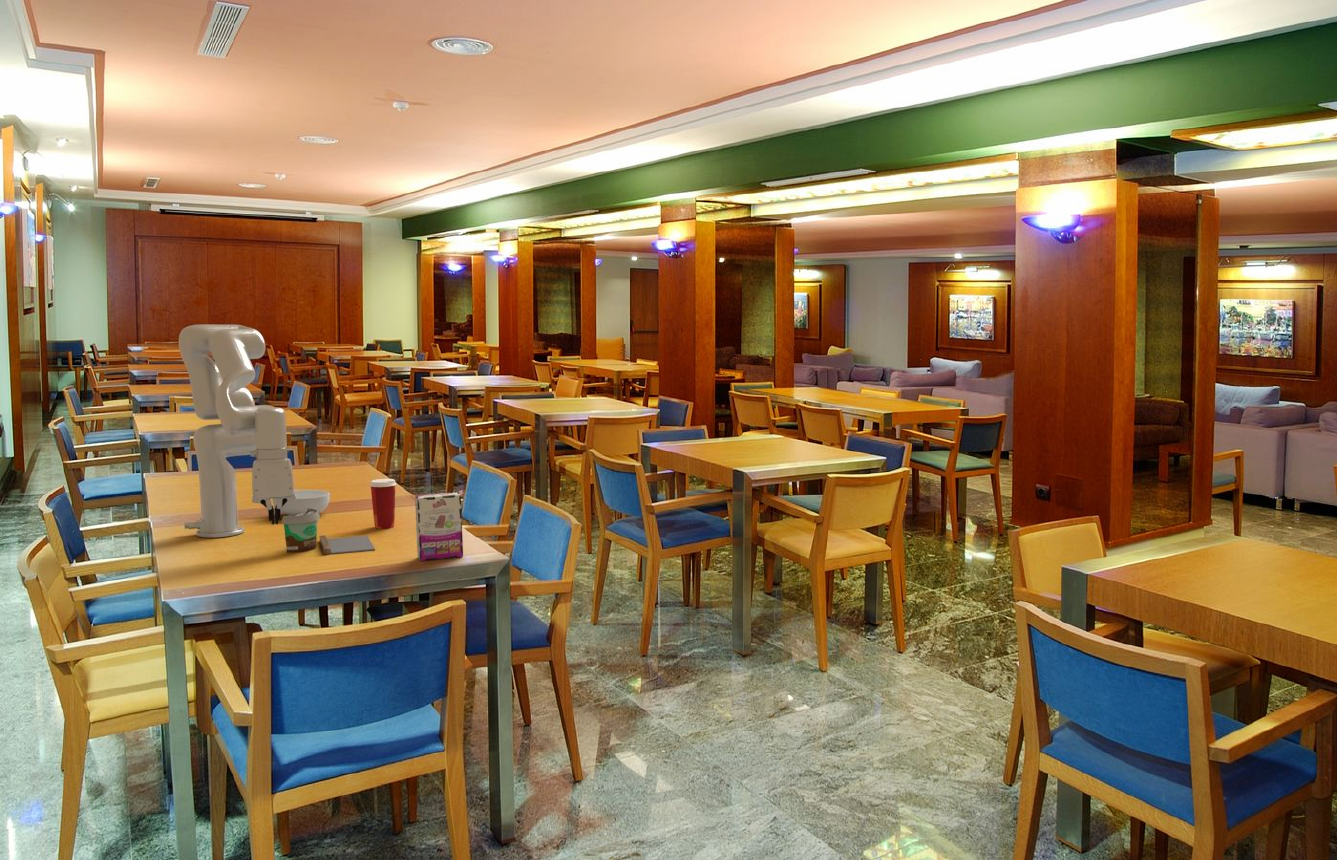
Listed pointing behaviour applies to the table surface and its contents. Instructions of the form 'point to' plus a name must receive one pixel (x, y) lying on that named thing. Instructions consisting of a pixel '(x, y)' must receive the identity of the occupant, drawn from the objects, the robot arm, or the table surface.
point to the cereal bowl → (305, 502)
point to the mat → (350, 544)
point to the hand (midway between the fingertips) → (274, 523)
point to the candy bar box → (439, 526)
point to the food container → (301, 531)
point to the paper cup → (383, 502)
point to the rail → (325, 545)
